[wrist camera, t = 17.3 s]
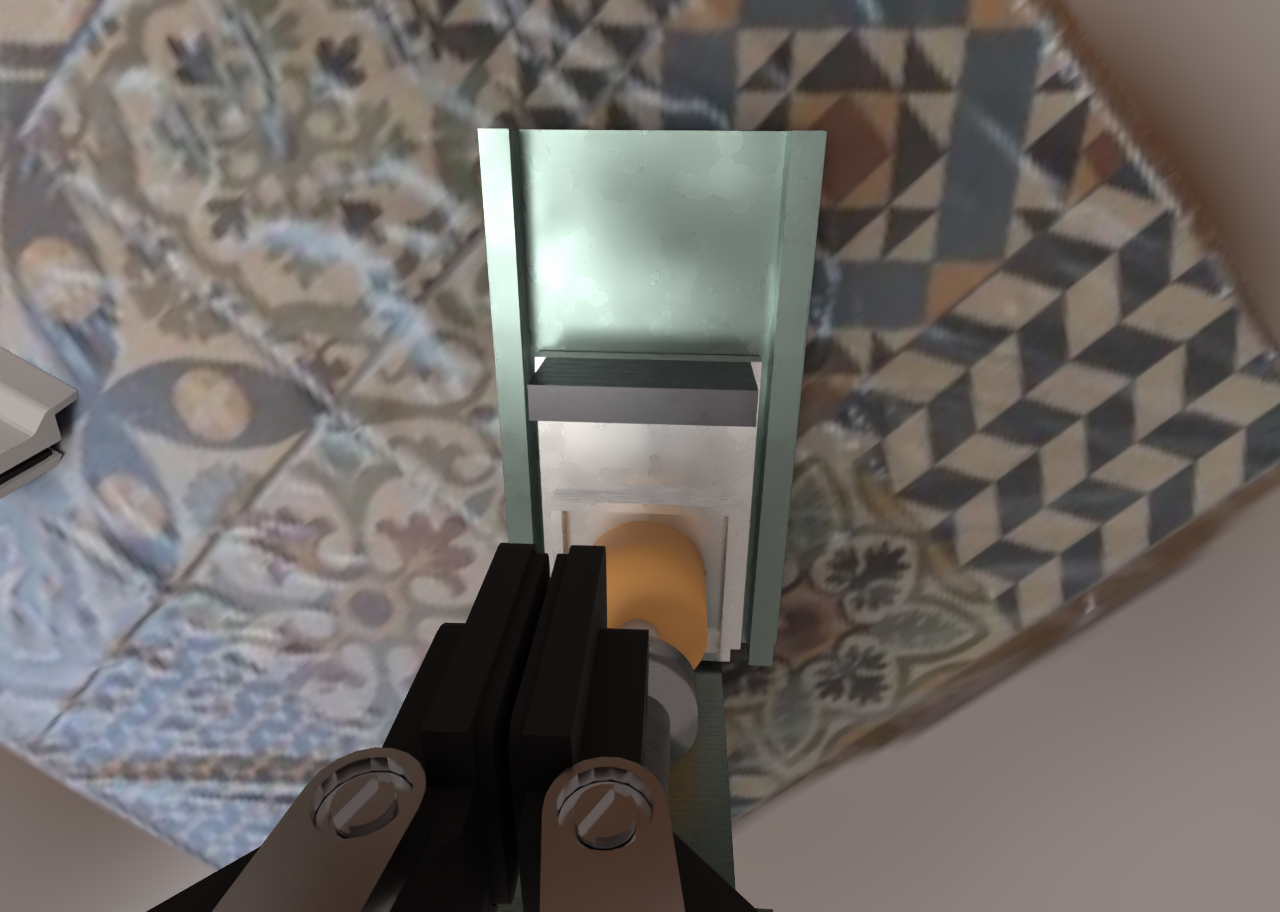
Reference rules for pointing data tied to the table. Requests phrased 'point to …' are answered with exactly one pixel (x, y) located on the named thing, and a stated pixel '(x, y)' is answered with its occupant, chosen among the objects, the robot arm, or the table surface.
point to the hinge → (28, 421)
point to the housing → (657, 585)
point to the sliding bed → (652, 459)
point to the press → (660, 334)
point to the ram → (669, 709)
